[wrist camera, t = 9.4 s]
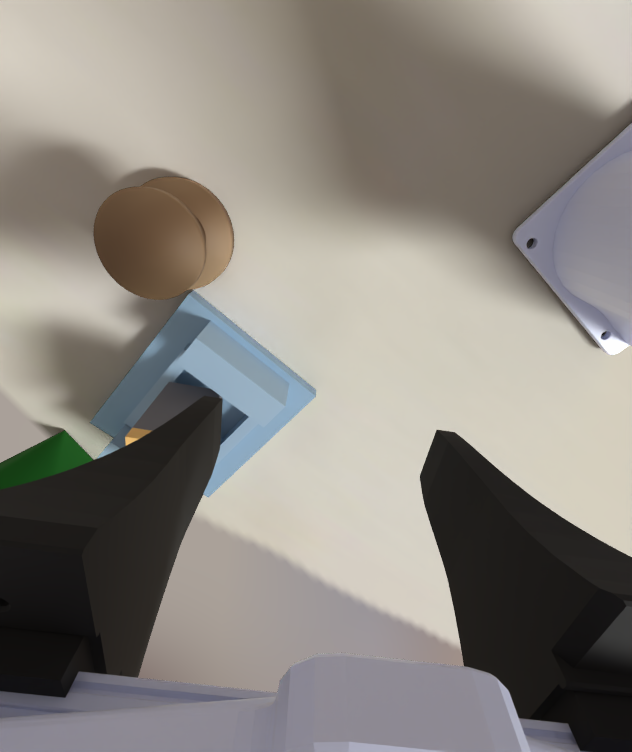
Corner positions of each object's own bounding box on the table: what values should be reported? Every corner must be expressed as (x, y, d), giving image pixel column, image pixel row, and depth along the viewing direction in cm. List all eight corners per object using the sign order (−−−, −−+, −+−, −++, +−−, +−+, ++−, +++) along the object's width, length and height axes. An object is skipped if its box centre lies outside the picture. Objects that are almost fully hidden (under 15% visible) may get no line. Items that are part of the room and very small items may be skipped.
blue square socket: (316, 389, 23) (314, 420, 20) (211, 489, 27) (197, 527, 24) (193, 290, 21) (170, 308, 18) (96, 415, 24) (64, 448, 21)
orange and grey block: (222, 390, 21) (194, 447, 17) (217, 452, 23) (191, 518, 19) (168, 381, 21) (125, 436, 17) (168, 444, 23) (128, 509, 18)
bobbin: (254, 231, 19) (237, 242, 15) (196, 305, 21) (168, 331, 17) (166, 151, 18) (124, 141, 14) (112, 238, 19) (61, 250, 16)
